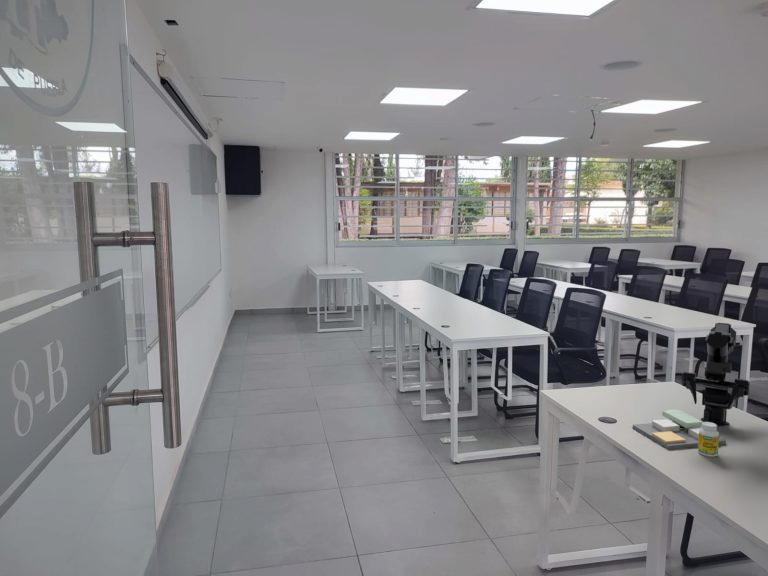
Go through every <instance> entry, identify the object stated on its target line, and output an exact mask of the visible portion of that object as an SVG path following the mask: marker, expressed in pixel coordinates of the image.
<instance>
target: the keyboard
mask: <svg viewBox="0 0 768 576" xmlns="http://www.w3.org/2000/svg"><path fill="white" fill-rule="evenodd" d="M701 428H702V427H696V428H685V427H682V426H681V425H679V424H677V423H675V422H674V421H672V420H670V419H668V418H667V419H666V418H665V419H655V420H653V419H652V420H651V422H650V423H649V422H648V423H635V424H632V429H634V430H635V431H637V432H639V433H640V434H641V435H644V436H645V437H647V438H648V439H650V440H652V441H653V442H655V443H657V444H659V446H662V447H663V448H665V449H666V450H674V449H677V450H678V449H688V448H698V441H699V430H700V429H701ZM726 444H727V440H726V439H724V438H722V437H720V436H719V444H718V446H719V445H726Z"/></svg>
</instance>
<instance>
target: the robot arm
mask: <svg viewBox="0 0 768 576" xmlns="http://www.w3.org/2000/svg"><path fill="white" fill-rule="evenodd" d="M704 345H705V346H706V347H707V350H706V351H707V359H706V365H705V368H704V373H703V374H704V377H698V376H697V373H696V372H692V371H691V372H689V371H683V372H682V373H681V377H680V378H681V387H685V388H686V389H687V390H688V391H690V393H691V396H692V398H693V402H694V404H695V405H697V402H698V399H697V398H698V397H697V384H698V385H705V387H704V388H702V393H701V394H702V398H701V399H702V400H701V405H702V406H704V410H703V417H701V418H700V421H702V422H711V423H714V424H716V425H717V426H726V425H730V422H728V421H727V415H728V414H727V413H728V410H731V409H733V406H734V404H735V403H736V402H737V401H738V399H739V398H744V396H745V397H746V396H749V393H750V381H749V379H741V378H734V381H733V382H732V381H726V379H727V378H726V377H727V374H731V372H732V362H728V357H729V355H730V354H732V352H734V347H735V346H736V345H737V331H736V330H735V329H734V328H732V324H730V323H727V322H715V324H714V327H712V328H711V329H710V330H709V333H708V334H706V337H705V340H704ZM729 389H732V390H731V392H729Z"/></svg>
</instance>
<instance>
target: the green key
mask: <svg viewBox="0 0 768 576" xmlns="http://www.w3.org/2000/svg"><path fill="white" fill-rule="evenodd" d="M661 415H662V417H664V418H665V419H666V418H667V419H668V420H670V421H674V422H675V423H677V424H679V425H681V426H680V427H682V428H696V427H700V428H702V422H703V420H701V419H700V420H699V419H697V418H695V417H694V416H691V415H690V414H687V413H685V412H683V411H681V410H679V409H669V410H668V409H667V410H662V414H661Z"/></svg>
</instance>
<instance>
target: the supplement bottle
mask: <svg viewBox="0 0 768 576" xmlns="http://www.w3.org/2000/svg"><path fill="white" fill-rule="evenodd" d="M700 428H701V429H700V430H699V441H698V447H697V451H698V453H699V454H700V455H702V456H704V457H709V458H713V457H716V456H718V455H719V445H718V444H719V437H720V432H719V431H718V430H717V429H718V425H716V424H714V423H711V422H705V421H702V427H700Z"/></svg>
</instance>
